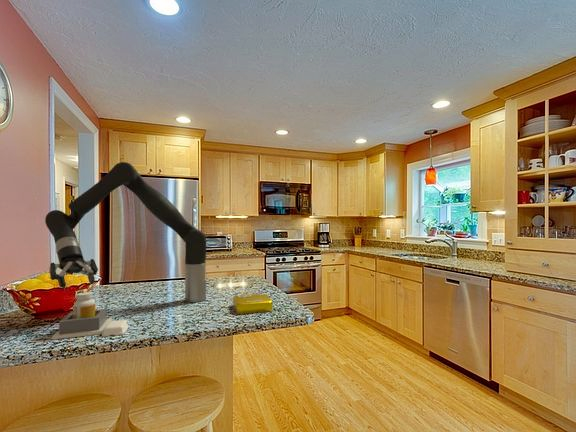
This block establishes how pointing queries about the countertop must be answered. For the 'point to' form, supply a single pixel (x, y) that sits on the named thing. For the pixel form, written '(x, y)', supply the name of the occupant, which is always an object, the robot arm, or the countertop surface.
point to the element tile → (252, 303)
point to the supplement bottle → (84, 306)
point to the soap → (115, 328)
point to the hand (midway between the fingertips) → (78, 284)
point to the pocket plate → (82, 325)
